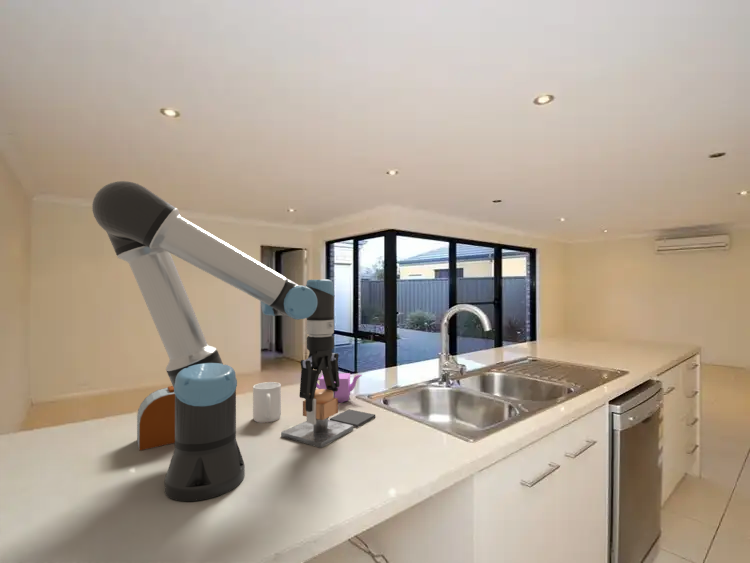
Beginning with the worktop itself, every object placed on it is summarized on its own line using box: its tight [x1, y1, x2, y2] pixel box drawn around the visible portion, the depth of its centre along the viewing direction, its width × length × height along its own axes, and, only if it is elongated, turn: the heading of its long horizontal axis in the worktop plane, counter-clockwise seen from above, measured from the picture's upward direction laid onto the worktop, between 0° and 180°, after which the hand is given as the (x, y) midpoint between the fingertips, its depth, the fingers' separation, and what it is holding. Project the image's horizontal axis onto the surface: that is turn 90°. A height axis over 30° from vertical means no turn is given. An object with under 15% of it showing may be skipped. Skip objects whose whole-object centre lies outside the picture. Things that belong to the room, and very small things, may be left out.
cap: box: [302, 388, 339, 420], centre depth 103 cm, size 7×7×6 cm
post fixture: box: [280, 417, 354, 449], centre depth 103 cm, size 14×14×9 cm
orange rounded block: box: [136, 385, 175, 451], centre depth 101 cm, size 15×8×14 cm, turn 126°
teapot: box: [316, 372, 363, 404], centre depth 134 cm, size 18×14×10 cm
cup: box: [252, 381, 282, 424], centre depth 114 cm, size 8×12×10 cm
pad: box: [329, 409, 376, 428], centre depth 114 cm, size 10×10×1 cm
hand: (320, 418), depth 103 cm, fingers closed on cap, 7 cm apart
